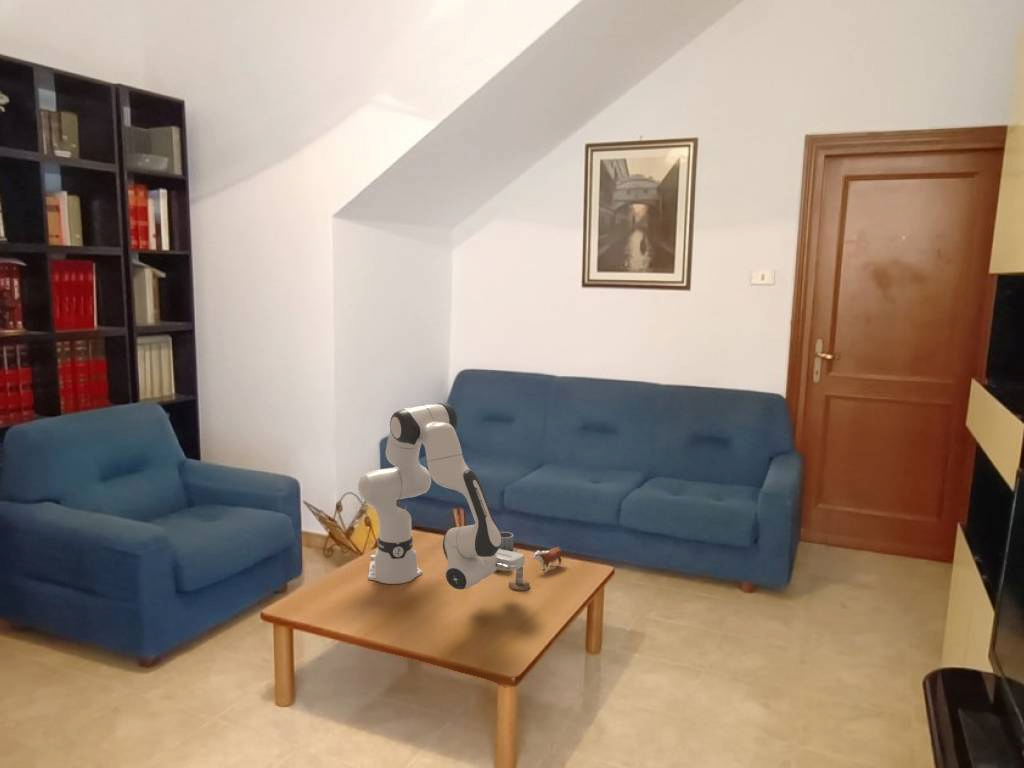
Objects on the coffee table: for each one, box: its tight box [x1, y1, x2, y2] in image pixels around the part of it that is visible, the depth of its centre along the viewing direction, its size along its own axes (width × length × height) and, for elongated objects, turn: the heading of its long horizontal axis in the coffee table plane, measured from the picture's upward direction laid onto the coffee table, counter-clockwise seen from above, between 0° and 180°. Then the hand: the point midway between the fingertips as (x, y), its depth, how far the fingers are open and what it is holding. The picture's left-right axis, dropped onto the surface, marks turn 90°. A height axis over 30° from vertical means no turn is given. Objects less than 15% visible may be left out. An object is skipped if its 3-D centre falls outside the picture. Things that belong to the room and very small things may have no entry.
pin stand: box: [508, 566, 530, 592], centre depth 262 cm, size 7×7×8 cm
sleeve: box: [496, 531, 514, 572], centre depth 251 cm, size 6×6×11 cm
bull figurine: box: [532, 546, 562, 574], centre depth 278 cm, size 4×13×8 cm, turn 132°
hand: (505, 548), depth 252 cm, fingers closed on sleeve, 6 cm apart
